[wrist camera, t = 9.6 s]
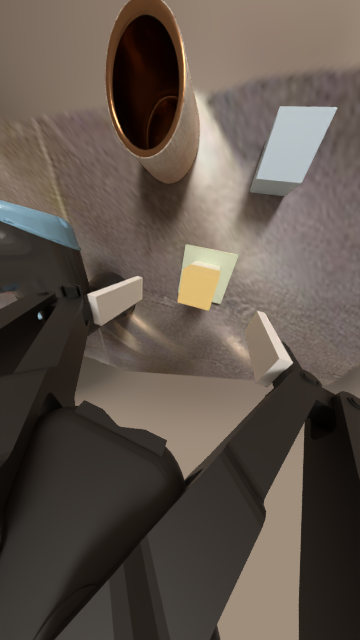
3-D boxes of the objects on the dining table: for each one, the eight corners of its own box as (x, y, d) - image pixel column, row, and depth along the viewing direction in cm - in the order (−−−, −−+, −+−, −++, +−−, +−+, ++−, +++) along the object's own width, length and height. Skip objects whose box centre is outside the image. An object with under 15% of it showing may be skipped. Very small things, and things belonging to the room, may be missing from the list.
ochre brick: (185, 292, 29) (177, 302, 24) (190, 264, 26) (182, 269, 21) (211, 298, 28) (208, 310, 23) (220, 270, 25) (219, 277, 20)
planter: (205, 167, 23) (196, 129, 15) (155, 195, 27) (128, 176, 20) (192, 66, 19) (170, -64, 11) (134, 117, 23) (87, 50, 15)
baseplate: (179, 291, 37) (170, 300, 31) (186, 244, 30) (178, 244, 25) (220, 302, 35) (219, 314, 29) (238, 254, 28) (241, 257, 23)
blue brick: (249, 192, 23) (256, 178, 18) (266, 140, 20) (280, 106, 15) (284, 196, 22) (301, 183, 17) (308, 142, 19) (337, 107, 14)
